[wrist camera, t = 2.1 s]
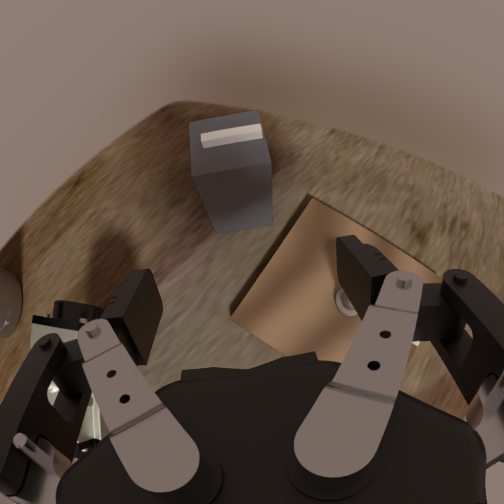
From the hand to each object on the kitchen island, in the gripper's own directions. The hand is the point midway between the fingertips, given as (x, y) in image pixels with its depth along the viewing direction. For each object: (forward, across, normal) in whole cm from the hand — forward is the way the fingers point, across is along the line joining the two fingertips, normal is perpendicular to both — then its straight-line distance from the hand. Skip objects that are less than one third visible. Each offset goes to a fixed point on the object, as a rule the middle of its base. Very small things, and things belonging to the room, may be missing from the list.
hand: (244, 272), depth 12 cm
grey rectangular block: (+18, 0, +2) cm, 19 cm away
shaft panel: (+10, -8, +10) cm, 17 cm away
